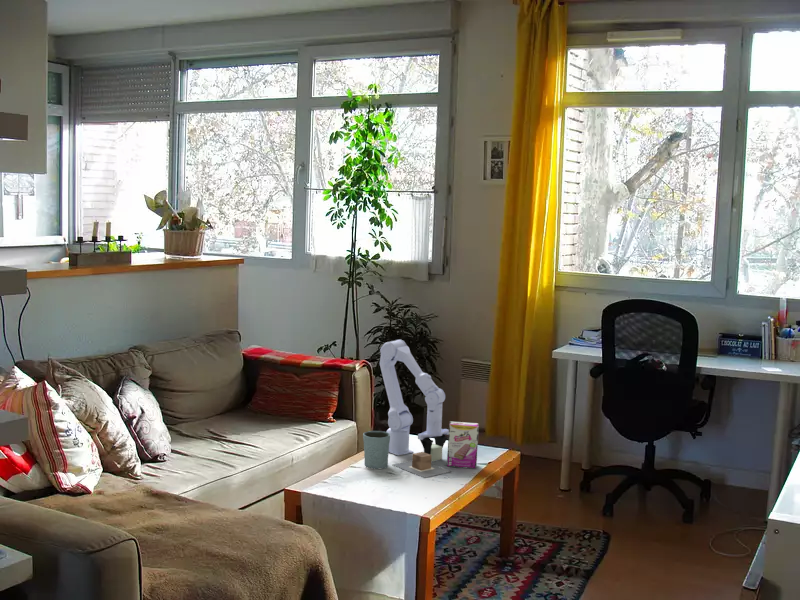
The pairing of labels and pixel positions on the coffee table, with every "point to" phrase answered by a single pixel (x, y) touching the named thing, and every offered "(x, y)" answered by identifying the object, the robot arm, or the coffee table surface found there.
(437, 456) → the sage block
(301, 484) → the coffee table surface
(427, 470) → the board
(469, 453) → the candy bar box
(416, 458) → the walnut block
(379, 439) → the green plant pot
